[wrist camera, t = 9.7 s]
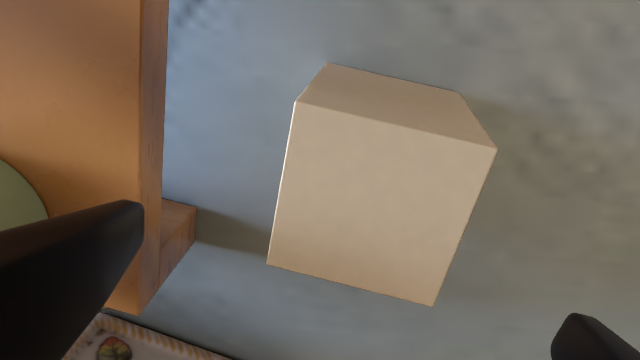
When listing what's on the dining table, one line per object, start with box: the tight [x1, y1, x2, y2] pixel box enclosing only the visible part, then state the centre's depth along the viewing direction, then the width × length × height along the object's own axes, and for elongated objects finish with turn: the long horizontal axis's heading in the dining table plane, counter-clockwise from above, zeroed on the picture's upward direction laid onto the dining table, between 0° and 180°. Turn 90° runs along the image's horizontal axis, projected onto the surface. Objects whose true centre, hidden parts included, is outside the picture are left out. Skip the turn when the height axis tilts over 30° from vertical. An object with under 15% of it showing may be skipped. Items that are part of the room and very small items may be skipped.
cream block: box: [266, 62, 498, 307], centre depth 14 cm, size 5×5×6 cm
